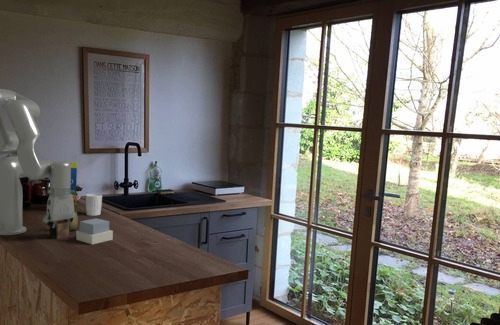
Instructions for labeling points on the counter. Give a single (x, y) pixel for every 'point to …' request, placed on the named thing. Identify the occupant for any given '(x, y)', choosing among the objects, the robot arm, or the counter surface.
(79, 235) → the cream block
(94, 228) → the grey block
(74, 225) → the fennel bulb
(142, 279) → the counter surface
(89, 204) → the white cup
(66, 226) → the walnut block
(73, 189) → the blue food package
